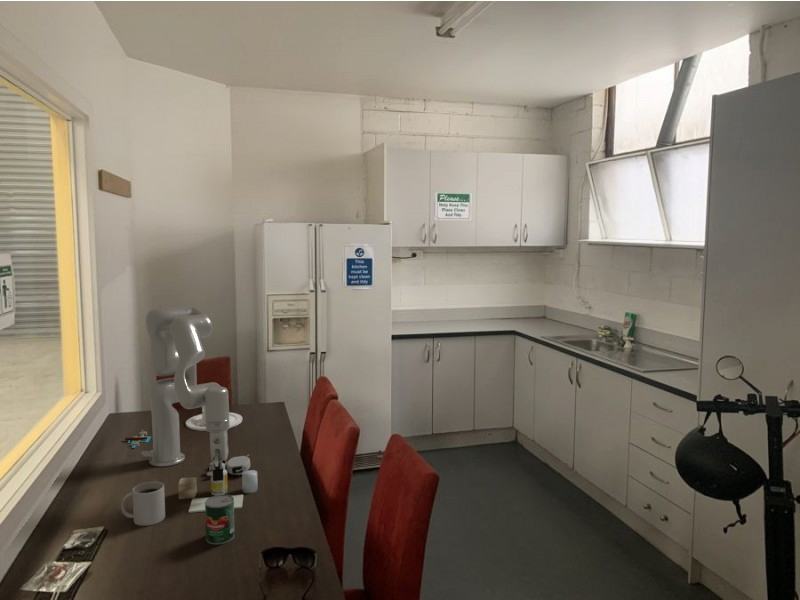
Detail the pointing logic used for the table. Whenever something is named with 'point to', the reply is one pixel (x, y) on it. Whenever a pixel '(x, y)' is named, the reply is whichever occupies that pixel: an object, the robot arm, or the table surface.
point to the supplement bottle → (219, 483)
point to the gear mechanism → (139, 438)
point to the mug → (147, 503)
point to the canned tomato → (219, 519)
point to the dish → (200, 421)
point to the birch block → (187, 488)
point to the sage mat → (199, 503)
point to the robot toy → (234, 465)
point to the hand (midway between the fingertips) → (219, 474)
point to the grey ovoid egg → (249, 481)
